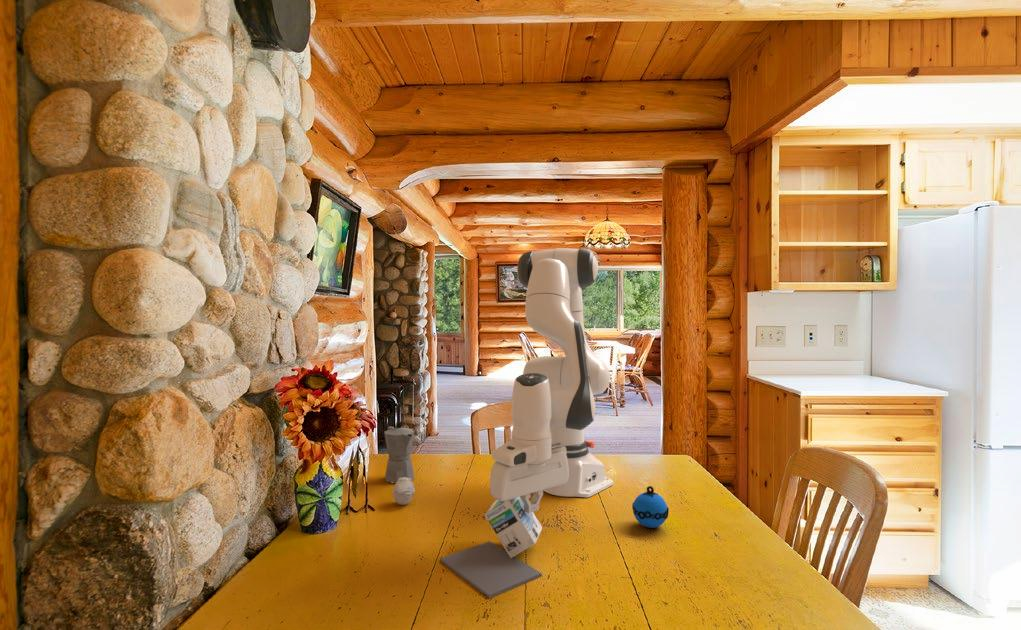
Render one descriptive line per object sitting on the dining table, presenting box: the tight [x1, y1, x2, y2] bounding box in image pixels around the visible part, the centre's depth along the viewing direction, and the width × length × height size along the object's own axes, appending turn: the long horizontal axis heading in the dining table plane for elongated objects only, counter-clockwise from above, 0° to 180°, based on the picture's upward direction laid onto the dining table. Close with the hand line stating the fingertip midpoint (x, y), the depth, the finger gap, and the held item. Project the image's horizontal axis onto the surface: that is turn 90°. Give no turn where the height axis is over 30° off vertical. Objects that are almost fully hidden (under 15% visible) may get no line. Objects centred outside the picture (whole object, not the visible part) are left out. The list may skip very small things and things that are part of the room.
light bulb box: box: [484, 497, 543, 558], centre depth 118 cm, size 11×7×11 cm
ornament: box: [631, 485, 670, 529], centre depth 130 cm, size 9×9×10 cm
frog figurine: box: [392, 477, 416, 506], centre depth 145 cm, size 6×7×7 cm
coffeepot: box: [382, 421, 415, 483], centre depth 166 cm, size 15×9×18 cm, turn 44°
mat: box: [439, 540, 543, 599], centre depth 110 cm, size 13×18×1 cm
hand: (531, 510), depth 117 cm, fingers closed
